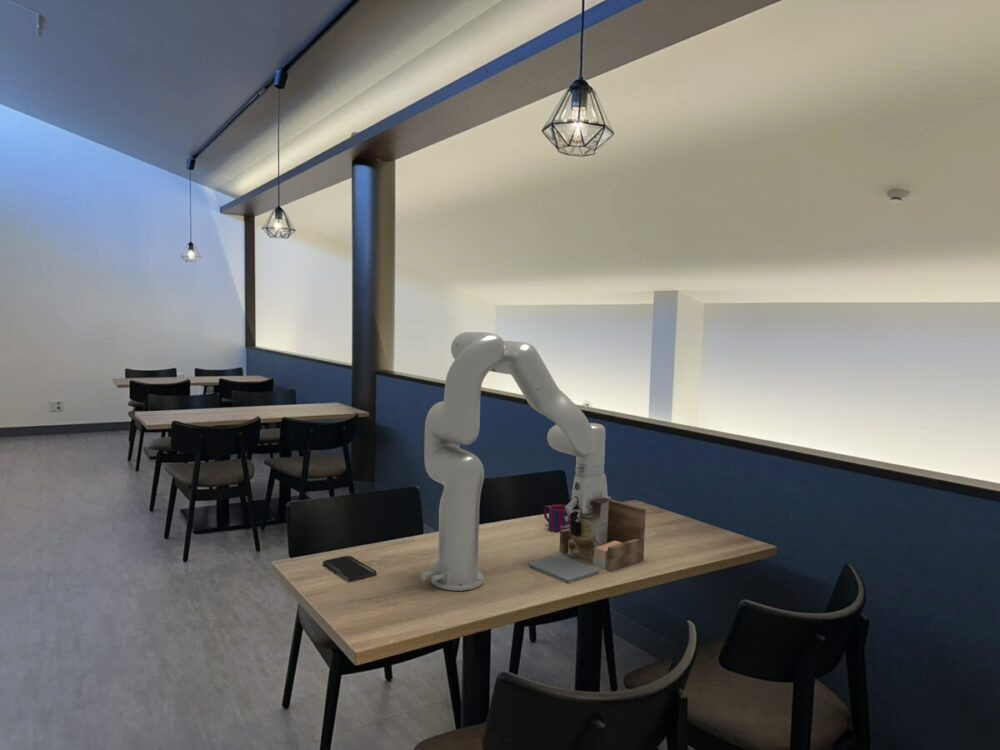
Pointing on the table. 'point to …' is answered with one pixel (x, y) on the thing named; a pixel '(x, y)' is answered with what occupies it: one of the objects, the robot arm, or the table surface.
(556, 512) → the mug
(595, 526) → the coffee box
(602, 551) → the offcut upper
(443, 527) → the robot arm
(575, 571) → the mat
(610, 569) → the rack
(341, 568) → the phone
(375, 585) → the table surface
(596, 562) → the offcut lower
